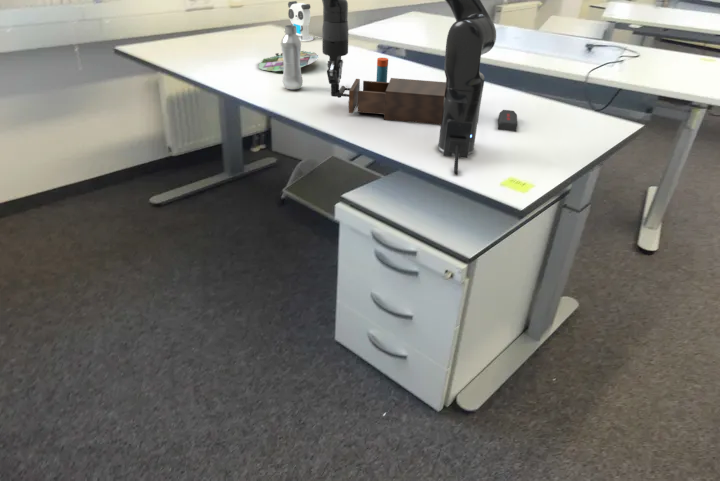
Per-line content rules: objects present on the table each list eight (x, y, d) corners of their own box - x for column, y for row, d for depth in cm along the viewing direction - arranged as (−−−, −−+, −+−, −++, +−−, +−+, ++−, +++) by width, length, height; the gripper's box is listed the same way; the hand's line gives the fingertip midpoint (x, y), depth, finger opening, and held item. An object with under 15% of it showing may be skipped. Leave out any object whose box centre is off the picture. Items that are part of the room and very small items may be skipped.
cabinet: (383, 119, 161) (385, 91, 156) (389, 104, 172) (390, 77, 168) (446, 125, 159) (450, 96, 154) (447, 109, 170) (451, 82, 165)
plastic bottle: (303, 91, 181) (302, 28, 170) (283, 91, 180) (280, 28, 169) (302, 85, 186) (300, 24, 175) (282, 86, 185) (279, 24, 174)
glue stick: (385, 98, 178) (387, 60, 171) (374, 97, 178) (376, 59, 172) (386, 94, 181) (388, 58, 174) (376, 93, 181) (378, 57, 175)
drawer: (334, 111, 163) (334, 89, 159) (342, 98, 173) (342, 77, 169) (406, 118, 160) (408, 95, 157) (410, 104, 171) (412, 83, 167)
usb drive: (497, 129, 157) (499, 120, 156) (498, 115, 167) (499, 107, 165) (516, 131, 156) (517, 122, 155) (515, 117, 166) (517, 109, 165)
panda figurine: (282, 37, 245) (280, 1, 237) (302, 34, 251) (301, -1, 243) (298, 42, 238) (297, 6, 229) (318, 39, 244) (318, 3, 236)
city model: (253, 63, 214) (250, 48, 211) (311, 53, 219) (309, 38, 216) (264, 83, 195) (261, 66, 191) (327, 71, 200) (325, 55, 196)
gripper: (327, 31, 163) (327, 88, 172) (317, 41, 152) (318, 101, 161) (351, 32, 162) (350, 90, 171) (344, 42, 151) (343, 103, 160)
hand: (335, 95), depth 166 cm, fingers closed
